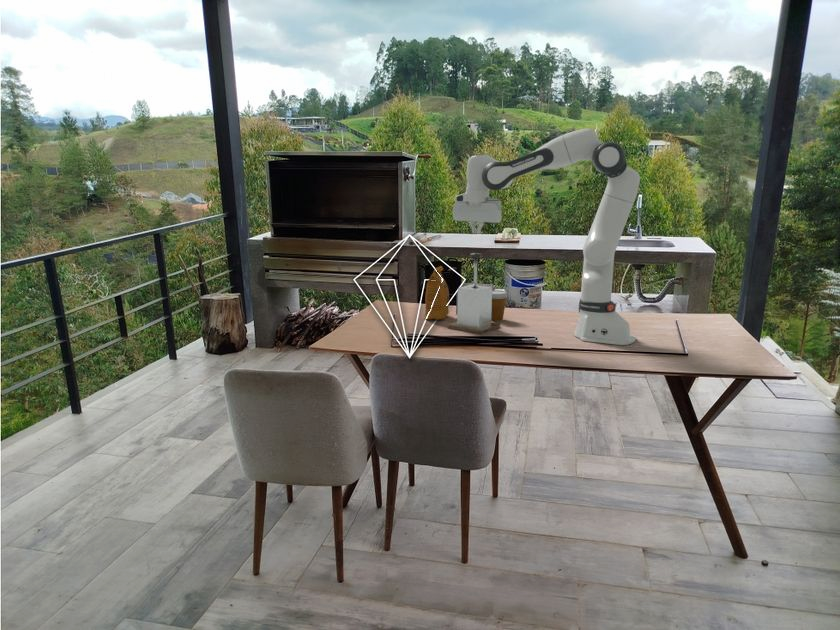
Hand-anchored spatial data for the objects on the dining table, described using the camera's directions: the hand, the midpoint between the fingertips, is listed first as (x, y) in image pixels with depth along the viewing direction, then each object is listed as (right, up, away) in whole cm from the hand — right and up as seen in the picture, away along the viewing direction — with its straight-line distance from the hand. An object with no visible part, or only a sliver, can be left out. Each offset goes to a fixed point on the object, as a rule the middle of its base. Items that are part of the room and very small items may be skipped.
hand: (476, 233), depth 236 cm
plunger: (0, -26, +6) cm, 26 cm away
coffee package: (-15, -33, +26) cm, 45 cm away
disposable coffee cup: (+10, -34, +23) cm, 42 cm away
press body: (0, -37, +8) cm, 38 cm away
